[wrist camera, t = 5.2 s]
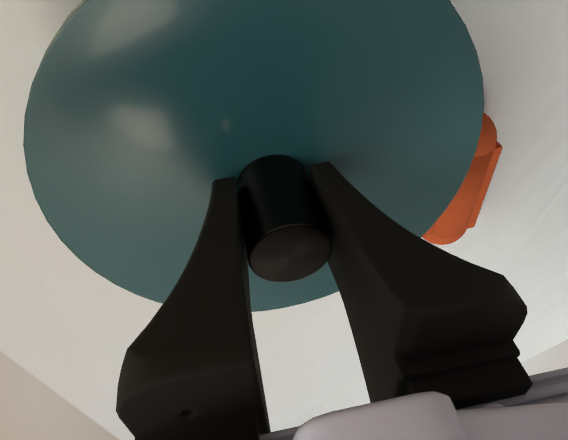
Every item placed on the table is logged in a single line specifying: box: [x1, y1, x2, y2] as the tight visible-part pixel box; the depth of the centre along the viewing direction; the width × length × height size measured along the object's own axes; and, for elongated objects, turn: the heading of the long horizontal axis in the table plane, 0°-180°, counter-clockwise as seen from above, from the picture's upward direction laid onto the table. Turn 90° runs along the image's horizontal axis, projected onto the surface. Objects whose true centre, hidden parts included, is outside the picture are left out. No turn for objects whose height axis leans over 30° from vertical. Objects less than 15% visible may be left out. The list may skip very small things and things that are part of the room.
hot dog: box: [422, 112, 502, 245], centre depth 24 cm, size 9×3×3 cm, turn 3°
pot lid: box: [23, 0, 484, 312], centre depth 14 cm, size 14×14×4 cm
